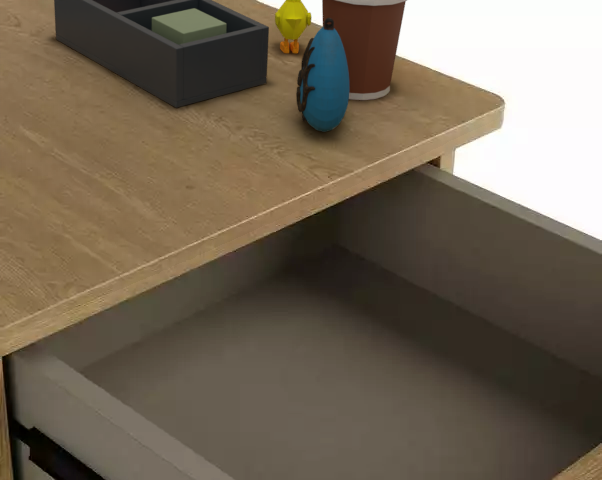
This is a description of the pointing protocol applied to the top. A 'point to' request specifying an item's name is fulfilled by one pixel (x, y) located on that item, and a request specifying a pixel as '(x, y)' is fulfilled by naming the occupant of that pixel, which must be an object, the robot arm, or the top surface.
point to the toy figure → (292, 23)
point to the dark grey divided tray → (166, 47)
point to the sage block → (187, 26)
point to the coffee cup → (367, 42)
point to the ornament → (323, 80)
